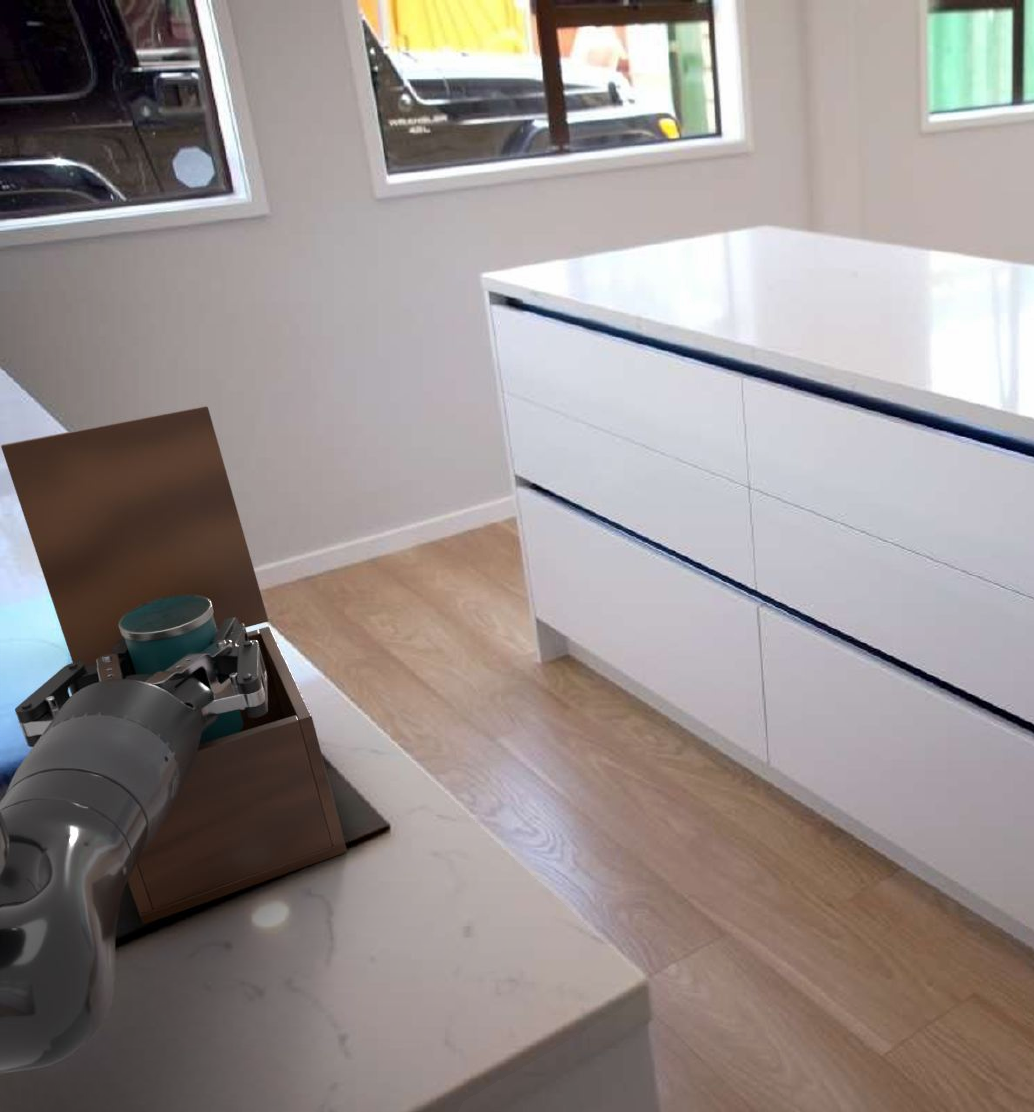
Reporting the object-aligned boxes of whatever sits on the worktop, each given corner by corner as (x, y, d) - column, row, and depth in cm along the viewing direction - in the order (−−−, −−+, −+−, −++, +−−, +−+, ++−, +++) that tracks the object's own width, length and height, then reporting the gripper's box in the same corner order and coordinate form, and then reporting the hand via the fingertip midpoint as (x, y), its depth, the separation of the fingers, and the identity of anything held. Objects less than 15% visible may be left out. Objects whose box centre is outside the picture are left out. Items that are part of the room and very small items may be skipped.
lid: (207, 406, 89) (206, 405, 89) (0, 445, 83) (1, 444, 83) (268, 621, 93) (267, 619, 94) (76, 673, 87) (76, 670, 88)
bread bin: (347, 852, 86) (311, 715, 81) (143, 925, 80) (92, 782, 75) (302, 749, 98) (269, 625, 94) (122, 806, 92) (78, 677, 88)
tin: (181, 765, 81) (142, 641, 77) (141, 739, 84) (103, 619, 80) (260, 727, 85) (227, 607, 81) (220, 704, 88) (186, 587, 84)
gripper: (225, 699, 68) (288, 571, 84) (-64, 737, 66) (55, 599, 82) (258, 814, 71) (313, 670, 87) (-17, 853, 69) (89, 699, 85)
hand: (188, 636), depth 84 cm, fingers closed on tin, 5 cm apart
